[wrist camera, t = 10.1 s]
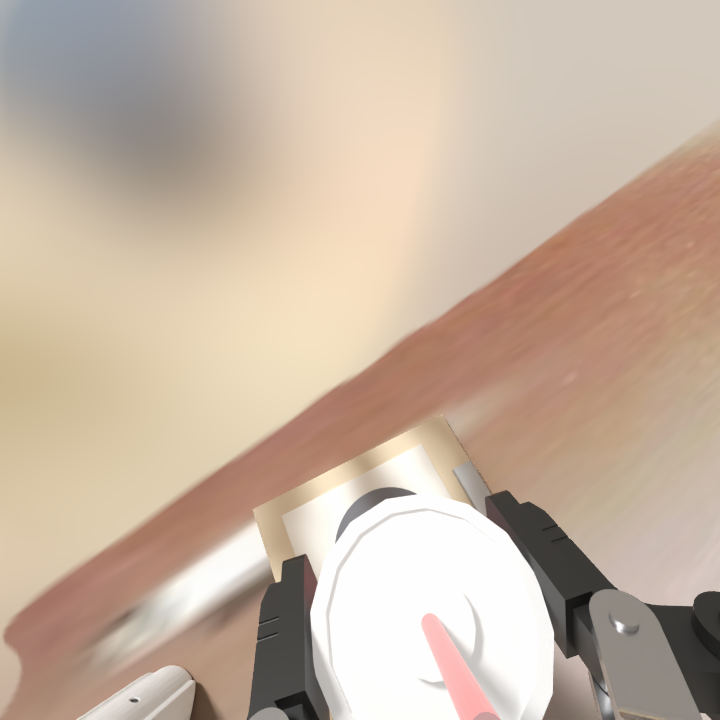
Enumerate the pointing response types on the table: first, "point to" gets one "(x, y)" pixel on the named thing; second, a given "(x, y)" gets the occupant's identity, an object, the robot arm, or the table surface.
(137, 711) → the photo printer
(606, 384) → the table surface
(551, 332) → the table surface
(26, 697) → the table surface
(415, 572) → the beverage cup
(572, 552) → the robot arm
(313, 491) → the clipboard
